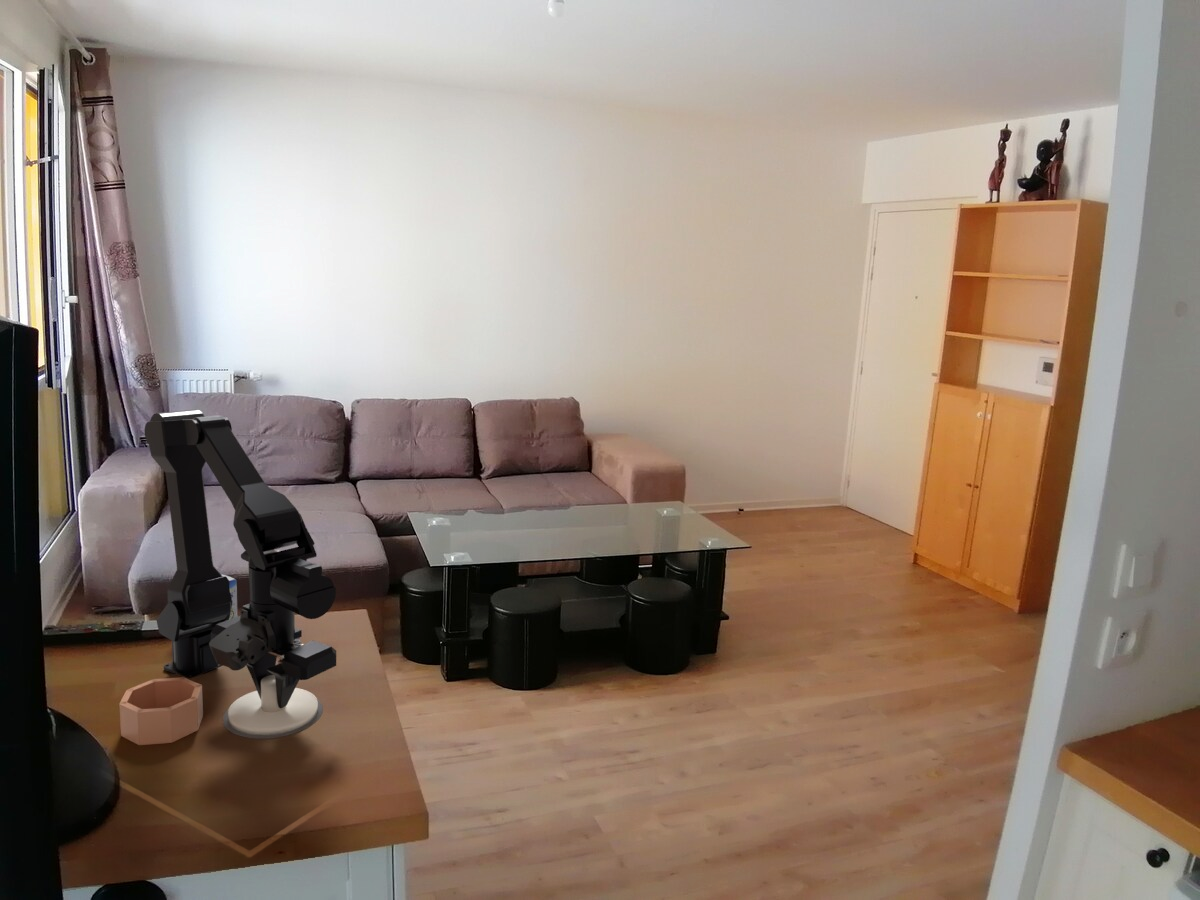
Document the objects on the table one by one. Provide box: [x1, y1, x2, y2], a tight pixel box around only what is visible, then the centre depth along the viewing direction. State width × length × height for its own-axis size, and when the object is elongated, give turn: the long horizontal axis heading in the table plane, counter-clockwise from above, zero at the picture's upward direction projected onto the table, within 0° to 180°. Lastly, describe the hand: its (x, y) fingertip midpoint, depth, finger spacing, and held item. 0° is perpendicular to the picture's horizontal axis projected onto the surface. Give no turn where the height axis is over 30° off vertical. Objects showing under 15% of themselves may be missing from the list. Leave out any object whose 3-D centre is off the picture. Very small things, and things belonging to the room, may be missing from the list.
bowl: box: [118, 676, 204, 746], centre depth 116 cm, size 9×9×5 cm
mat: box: [222, 698, 324, 739], centre depth 121 cm, size 13×13×1 cm
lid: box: [227, 675, 318, 735], centre depth 121 cm, size 12×12×5 cm
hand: (273, 703), depth 121 cm, fingers closed on lid, 3 cm apart
